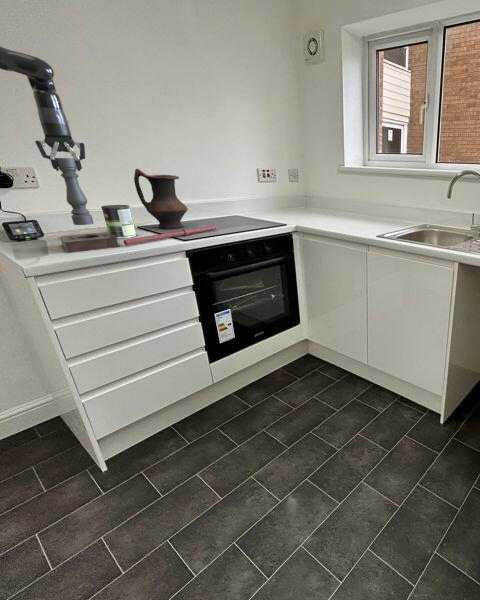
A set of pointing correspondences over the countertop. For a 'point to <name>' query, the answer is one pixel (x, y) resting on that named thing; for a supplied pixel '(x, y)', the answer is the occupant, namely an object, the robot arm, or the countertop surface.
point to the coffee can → (119, 221)
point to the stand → (89, 241)
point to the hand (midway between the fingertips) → (68, 170)
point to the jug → (162, 200)
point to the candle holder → (74, 191)
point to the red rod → (168, 235)
